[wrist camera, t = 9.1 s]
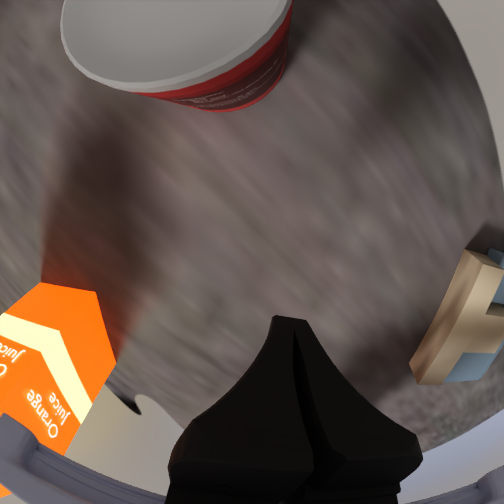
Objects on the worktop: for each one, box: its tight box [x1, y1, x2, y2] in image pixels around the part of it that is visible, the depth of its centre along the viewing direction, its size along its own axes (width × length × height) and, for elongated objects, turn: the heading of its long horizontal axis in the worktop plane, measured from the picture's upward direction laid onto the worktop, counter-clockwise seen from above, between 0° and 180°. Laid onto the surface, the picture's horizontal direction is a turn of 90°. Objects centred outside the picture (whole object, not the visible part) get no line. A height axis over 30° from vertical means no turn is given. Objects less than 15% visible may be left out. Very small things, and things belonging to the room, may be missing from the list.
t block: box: [409, 249, 504, 385], centre depth 20 cm, size 12×8×3 cm, turn 170°
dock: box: [444, 248, 504, 382], centre depth 20 cm, size 13×7×2 cm, turn 170°
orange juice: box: [0, 283, 116, 498], centre depth 16 cm, size 8×9×20 cm
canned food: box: [60, 0, 293, 112], centre depth 10 cm, size 8×8×11 cm
